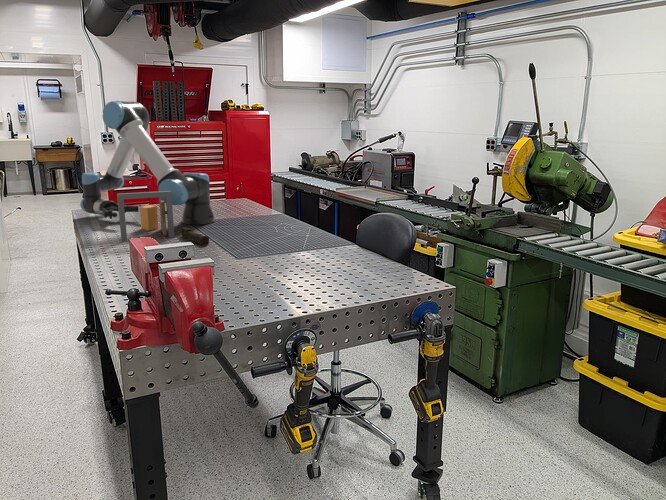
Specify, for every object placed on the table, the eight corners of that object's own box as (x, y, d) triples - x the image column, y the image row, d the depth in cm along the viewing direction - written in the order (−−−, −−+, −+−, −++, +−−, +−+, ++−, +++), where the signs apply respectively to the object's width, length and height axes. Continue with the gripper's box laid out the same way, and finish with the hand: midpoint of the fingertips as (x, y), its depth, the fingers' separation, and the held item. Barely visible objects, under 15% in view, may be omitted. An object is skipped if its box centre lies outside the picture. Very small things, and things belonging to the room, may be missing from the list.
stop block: (141, 229, 222) (139, 206, 219) (150, 227, 226) (149, 205, 223) (149, 230, 219) (147, 208, 217) (158, 228, 223) (156, 206, 221)
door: (170, 235, 210) (168, 201, 206) (163, 235, 209) (161, 202, 205) (168, 228, 222) (165, 196, 218) (161, 228, 221) (159, 197, 217)
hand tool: (210, 245, 198) (209, 233, 197) (200, 246, 195) (200, 235, 194) (188, 236, 212) (187, 225, 211) (179, 237, 209) (178, 226, 208)
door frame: (173, 235, 211) (170, 190, 206) (174, 236, 209) (171, 191, 204) (121, 240, 201) (116, 193, 196) (122, 241, 200) (117, 194, 195)
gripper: (129, 211, 247) (158, 217, 237) (82, 220, 227) (111, 226, 216) (128, 196, 245) (157, 201, 235) (80, 203, 225) (110, 209, 214)
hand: (135, 213), depth 225 cm, fingers open, 13 cm apart
